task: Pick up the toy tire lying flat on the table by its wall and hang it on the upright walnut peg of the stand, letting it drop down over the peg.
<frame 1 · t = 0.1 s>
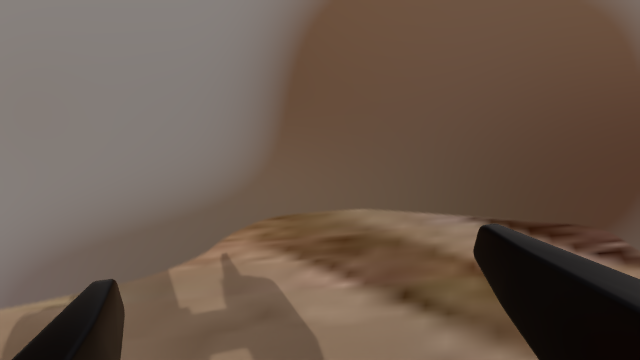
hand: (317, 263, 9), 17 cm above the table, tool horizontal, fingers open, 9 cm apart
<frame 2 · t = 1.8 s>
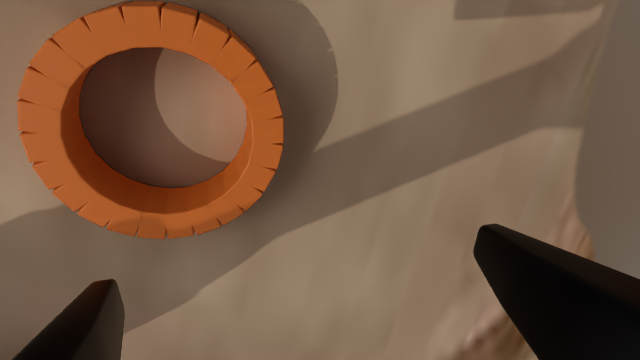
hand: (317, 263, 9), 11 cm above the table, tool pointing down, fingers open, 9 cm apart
toy tire: (168, 119, 18), on the table
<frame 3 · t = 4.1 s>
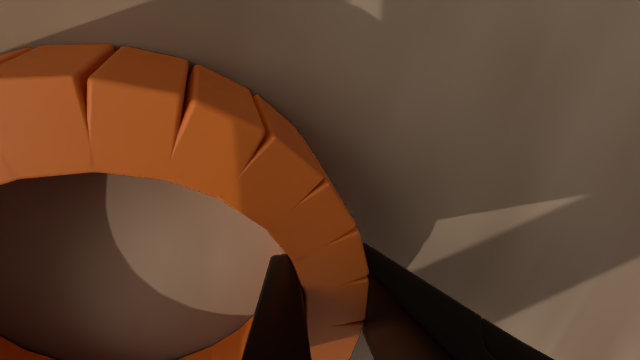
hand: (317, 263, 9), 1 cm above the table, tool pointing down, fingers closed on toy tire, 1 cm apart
toy tire: (135, 262, 9), on the table, touching gripper
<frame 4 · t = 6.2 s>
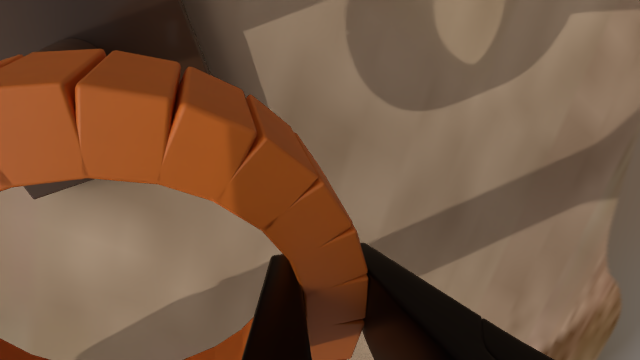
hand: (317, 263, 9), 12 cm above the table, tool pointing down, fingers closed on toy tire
peg stand: (88, 60, 16), on the table
toy tire: (135, 265, 9), point 11 cm above the table, touching gripper
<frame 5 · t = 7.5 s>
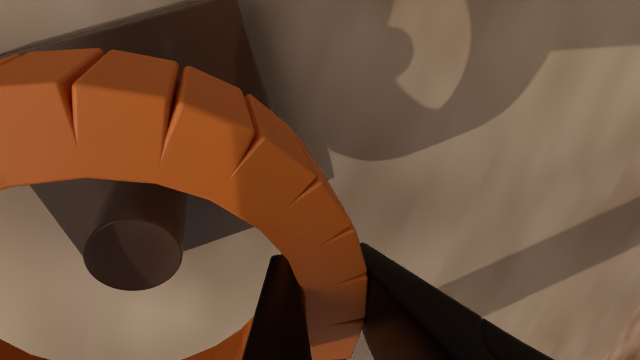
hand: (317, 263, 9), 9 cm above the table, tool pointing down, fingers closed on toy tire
peg stand: (162, 140, 16), on the table
toy tire: (134, 265, 9), point 8 cm above the table, touching gripper
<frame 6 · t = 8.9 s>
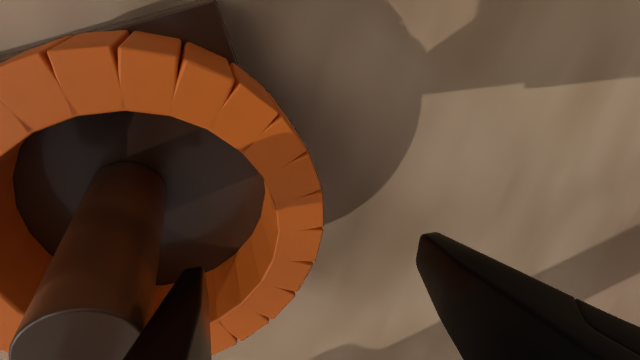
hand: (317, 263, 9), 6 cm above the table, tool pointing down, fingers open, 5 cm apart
peg stand: (135, 171, 13), on the table
toy tire: (151, 197, 12), point 1 cm above the table, touching peg stand
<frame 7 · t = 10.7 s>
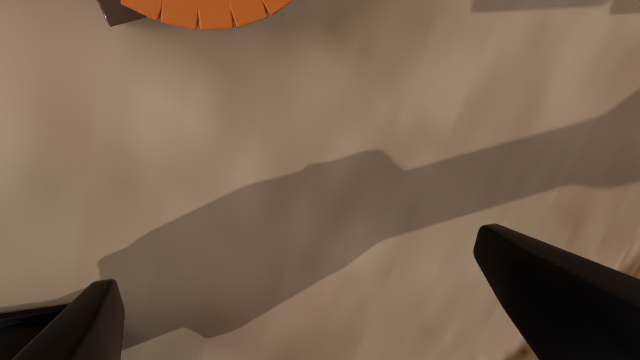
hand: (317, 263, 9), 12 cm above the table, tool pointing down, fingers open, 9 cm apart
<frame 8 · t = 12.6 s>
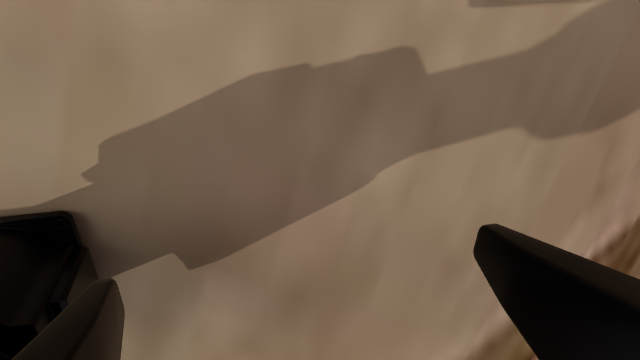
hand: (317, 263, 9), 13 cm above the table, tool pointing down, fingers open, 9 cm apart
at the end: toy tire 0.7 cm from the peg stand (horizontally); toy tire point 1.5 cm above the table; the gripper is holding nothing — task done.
